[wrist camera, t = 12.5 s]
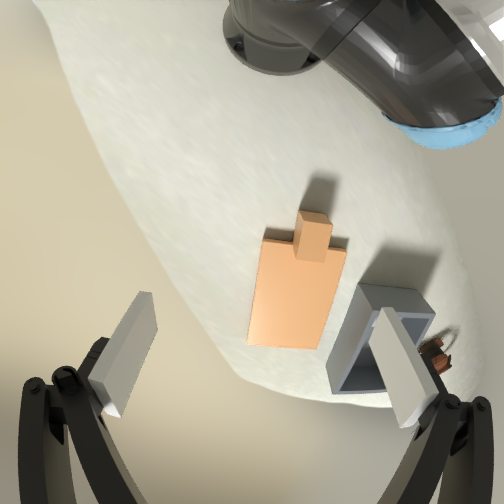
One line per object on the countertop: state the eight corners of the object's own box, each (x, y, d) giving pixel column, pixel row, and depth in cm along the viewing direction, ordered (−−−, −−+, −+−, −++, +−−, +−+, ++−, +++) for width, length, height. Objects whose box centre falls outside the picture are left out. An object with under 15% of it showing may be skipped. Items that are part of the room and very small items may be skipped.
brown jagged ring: (448, 331, 51) (461, 360, 46) (427, 347, 58) (438, 374, 53) (415, 347, 49) (429, 381, 44) (394, 362, 56) (405, 392, 51)
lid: (267, 204, 40) (268, 216, 35) (351, 217, 41) (364, 230, 36) (247, 337, 51) (246, 358, 45) (314, 342, 51) (319, 363, 46)
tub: (357, 283, 45) (373, 310, 38) (416, 289, 46) (436, 313, 38) (325, 365, 53) (332, 394, 46) (378, 365, 54) (389, 391, 47)
